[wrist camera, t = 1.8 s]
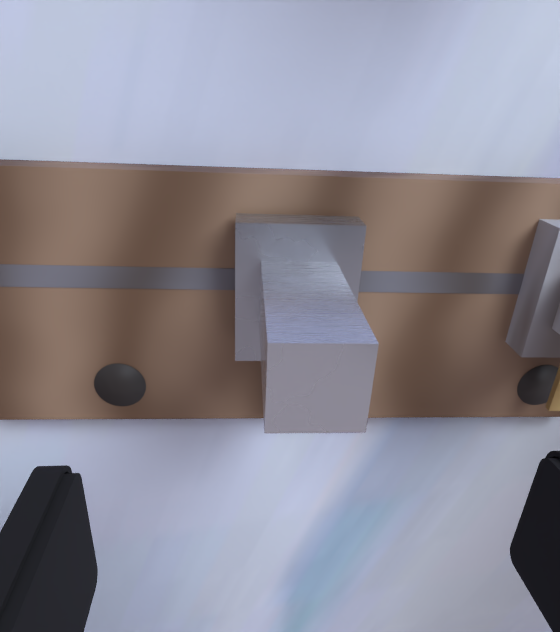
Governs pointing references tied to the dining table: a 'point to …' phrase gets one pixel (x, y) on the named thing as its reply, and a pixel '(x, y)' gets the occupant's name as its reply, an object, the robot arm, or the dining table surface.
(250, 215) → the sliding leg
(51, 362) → the wooden board with posts
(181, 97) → the dining table surface
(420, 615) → the dining table surface
